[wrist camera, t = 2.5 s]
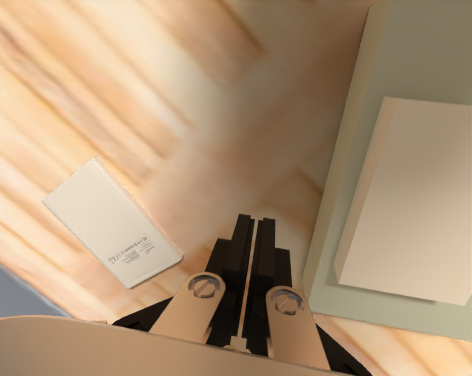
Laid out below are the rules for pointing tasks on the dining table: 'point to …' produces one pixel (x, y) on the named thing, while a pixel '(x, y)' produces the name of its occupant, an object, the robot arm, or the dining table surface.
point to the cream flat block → (413, 205)
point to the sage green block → (358, 138)
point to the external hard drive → (112, 224)
